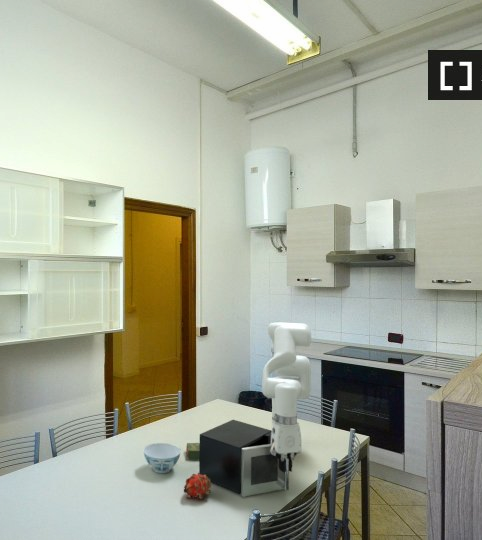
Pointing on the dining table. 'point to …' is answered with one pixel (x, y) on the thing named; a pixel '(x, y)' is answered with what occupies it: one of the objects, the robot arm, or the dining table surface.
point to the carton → (193, 451)
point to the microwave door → (262, 471)
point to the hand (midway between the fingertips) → (285, 470)
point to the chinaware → (162, 456)
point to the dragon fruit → (197, 486)
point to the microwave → (228, 451)
